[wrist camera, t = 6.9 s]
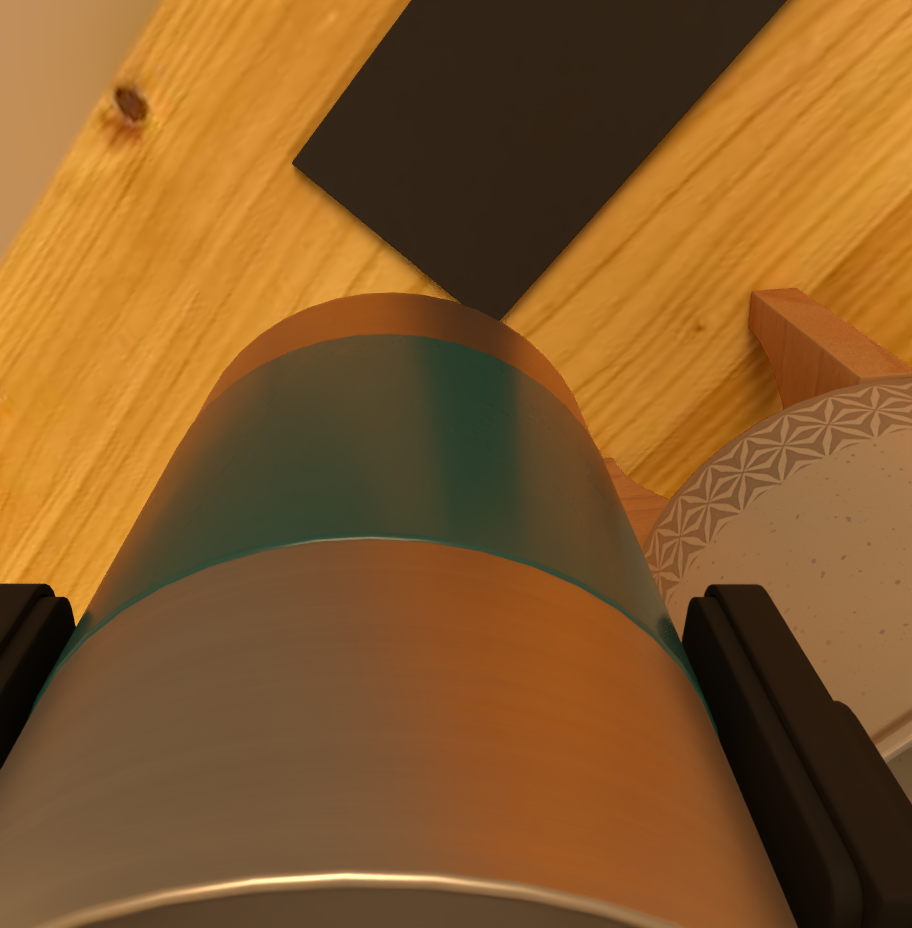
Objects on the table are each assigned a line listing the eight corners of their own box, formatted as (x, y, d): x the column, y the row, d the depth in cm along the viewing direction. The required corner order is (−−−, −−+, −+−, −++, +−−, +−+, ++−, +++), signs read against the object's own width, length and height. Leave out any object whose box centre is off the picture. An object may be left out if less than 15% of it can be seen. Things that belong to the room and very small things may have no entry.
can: (166, 285, 13) (-404, 887, 4) (615, 293, 13) (1032, 863, 4) (211, 646, 16) (-53, 1451, 7) (575, 645, 16) (770, 1412, 7)
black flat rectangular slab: (491, 326, 29) (492, 329, 28) (292, 161, 26) (291, 163, 26) (883, -112, 24) (888, -113, 23) (683, -370, 21) (687, -375, 21)
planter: (970, 273, 29) (1664, 588, 13) (904, 597, 34) (1321, 1087, 19) (577, 304, 28) (782, 659, 13) (577, 623, 34) (718, 1139, 18)
